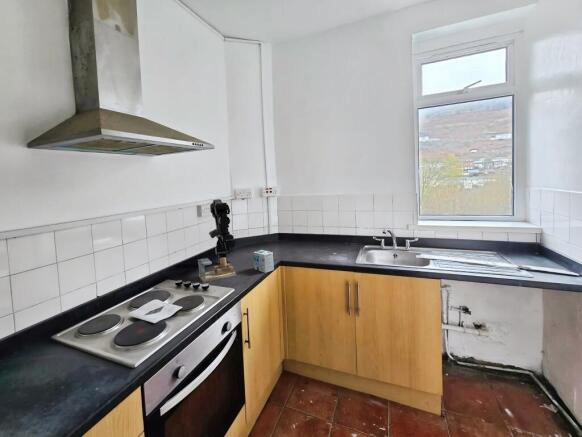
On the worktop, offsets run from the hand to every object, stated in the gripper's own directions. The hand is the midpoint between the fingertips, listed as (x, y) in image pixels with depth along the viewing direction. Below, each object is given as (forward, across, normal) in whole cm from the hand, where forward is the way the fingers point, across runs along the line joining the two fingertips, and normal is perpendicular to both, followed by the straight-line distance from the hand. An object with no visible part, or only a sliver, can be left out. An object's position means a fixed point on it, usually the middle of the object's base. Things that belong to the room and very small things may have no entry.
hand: (225, 249), depth 168 cm
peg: (+11, +8, -4) cm, 14 cm away
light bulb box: (+13, +15, +18) cm, 27 cm away
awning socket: (+12, +8, -8) cm, 17 cm away
